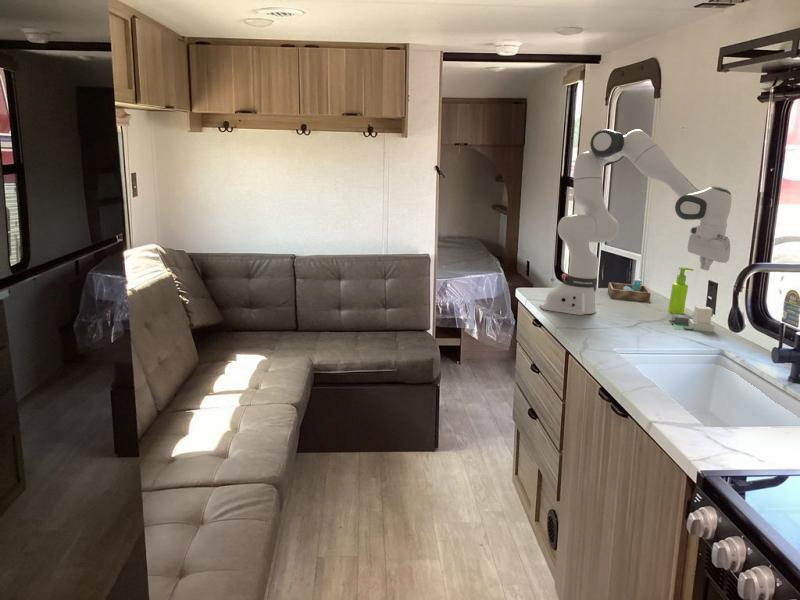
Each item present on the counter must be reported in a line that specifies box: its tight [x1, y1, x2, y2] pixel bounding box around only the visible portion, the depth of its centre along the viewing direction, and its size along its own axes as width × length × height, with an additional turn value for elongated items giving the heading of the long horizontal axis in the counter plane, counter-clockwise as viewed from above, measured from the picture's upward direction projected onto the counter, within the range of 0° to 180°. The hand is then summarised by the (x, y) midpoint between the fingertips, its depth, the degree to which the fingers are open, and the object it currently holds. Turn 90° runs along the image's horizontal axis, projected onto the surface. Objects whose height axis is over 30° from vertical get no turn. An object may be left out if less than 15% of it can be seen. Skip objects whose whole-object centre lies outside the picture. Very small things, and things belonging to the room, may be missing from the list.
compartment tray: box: [671, 318, 716, 335], centre depth 244 cm, size 14×15×4 cm
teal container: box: [622, 278, 643, 292], centre depth 298 cm, size 12×12×8 cm
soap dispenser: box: [667, 266, 694, 315], centre depth 264 cm, size 6×7×20 cm
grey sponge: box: [668, 313, 691, 326], centre depth 248 cm, size 7×8×3 cm
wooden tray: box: [607, 282, 651, 303], centre depth 297 cm, size 17×17×4 cm
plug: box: [692, 305, 714, 324], centre depth 241 cm, size 6×4×8 cm
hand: (704, 269), depth 237 cm, fingers closed
